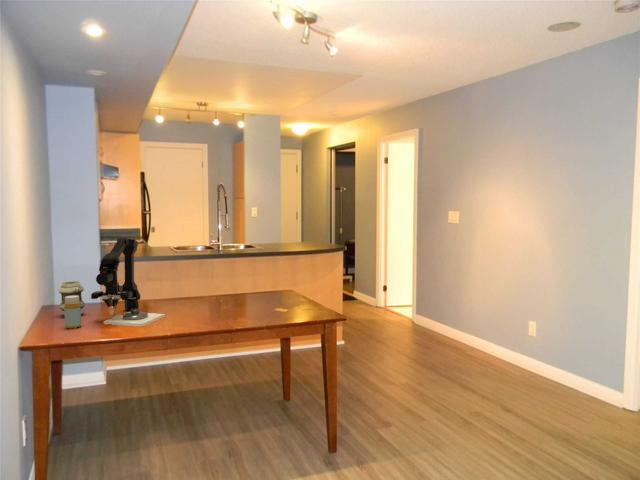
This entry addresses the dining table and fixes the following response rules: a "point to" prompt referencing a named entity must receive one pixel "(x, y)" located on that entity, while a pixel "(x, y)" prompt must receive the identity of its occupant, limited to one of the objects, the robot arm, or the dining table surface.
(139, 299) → the robot arm
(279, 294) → the dining table surface
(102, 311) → the dining table surface
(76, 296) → the bottle
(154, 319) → the white square plate
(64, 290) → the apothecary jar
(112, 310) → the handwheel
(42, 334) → the dining table surface
